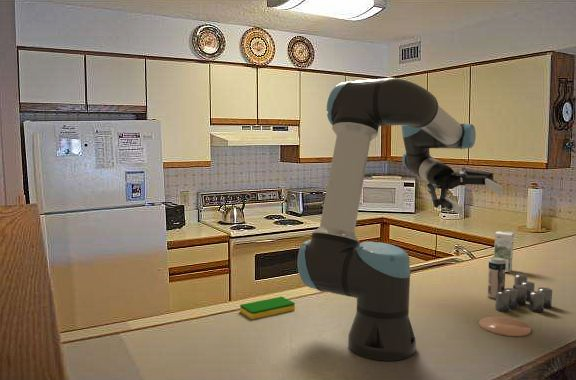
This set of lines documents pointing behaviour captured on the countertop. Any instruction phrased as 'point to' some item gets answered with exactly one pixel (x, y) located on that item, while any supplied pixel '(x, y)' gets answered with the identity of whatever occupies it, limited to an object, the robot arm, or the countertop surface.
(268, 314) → the dish sponge
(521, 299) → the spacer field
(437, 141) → the robot arm
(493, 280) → the beer can
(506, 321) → the peach disc
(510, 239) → the syrup box
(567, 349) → the countertop surface
